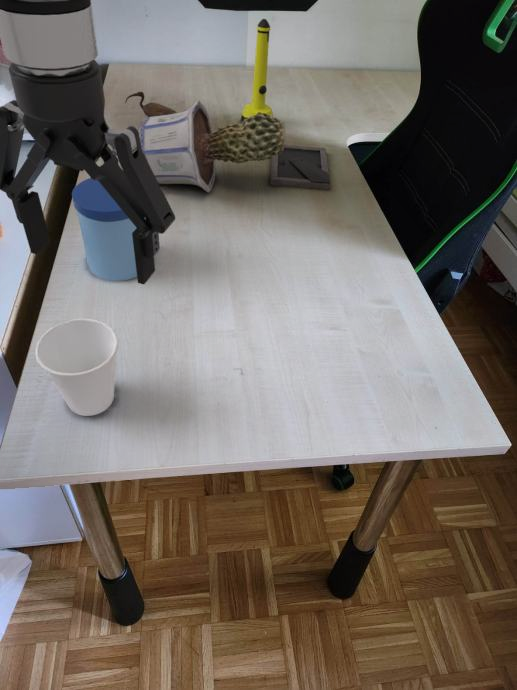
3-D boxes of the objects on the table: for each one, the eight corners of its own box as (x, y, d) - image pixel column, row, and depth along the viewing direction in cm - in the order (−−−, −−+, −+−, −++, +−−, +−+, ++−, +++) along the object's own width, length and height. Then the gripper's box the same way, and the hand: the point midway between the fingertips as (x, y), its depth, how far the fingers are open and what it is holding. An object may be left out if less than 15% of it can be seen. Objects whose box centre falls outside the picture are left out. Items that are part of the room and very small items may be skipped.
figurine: (127, 130, 131) (123, 94, 125) (128, 122, 134) (124, 87, 128) (182, 132, 133) (181, 97, 127) (182, 124, 136) (181, 90, 130)
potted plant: (122, 130, 99) (277, 106, 94) (144, 99, 112) (281, 76, 107) (150, 212, 110) (290, 194, 105) (167, 176, 123) (291, 158, 119)
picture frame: (328, 190, 117) (324, 154, 130) (330, 182, 116) (326, 146, 128) (270, 185, 117) (272, 149, 130) (271, 177, 116) (272, 141, 128)
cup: (94, 441, 67) (79, 388, 59) (38, 408, 70) (16, 353, 62) (142, 391, 74) (134, 337, 66) (89, 363, 77) (75, 307, 69)
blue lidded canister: (87, 285, 89) (72, 214, 79) (85, 246, 96) (71, 176, 86) (155, 278, 91) (149, 208, 81) (148, 241, 99) (141, 172, 89)
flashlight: (238, 14, 122) (256, 25, 117) (271, 12, 125) (290, 23, 120) (234, 120, 140) (249, 134, 135) (263, 116, 143) (279, 129, 138)
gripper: (206, 74, 44) (206, 270, 60) (-39, 25, 49) (19, 220, 64) (168, 104, 39) (178, 310, 55) (-102, 46, 44) (-23, 253, 59)
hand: (92, 262), depth 59 cm, fingers open, 13 cm apart
